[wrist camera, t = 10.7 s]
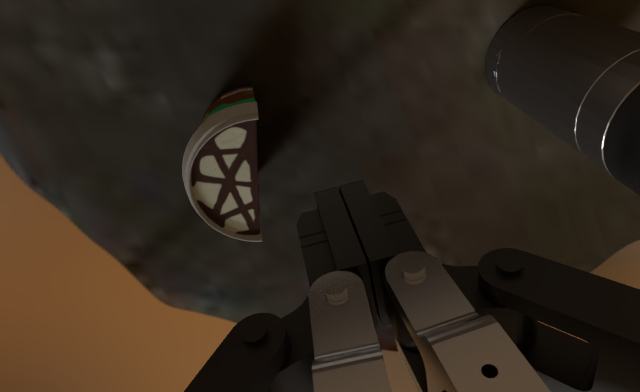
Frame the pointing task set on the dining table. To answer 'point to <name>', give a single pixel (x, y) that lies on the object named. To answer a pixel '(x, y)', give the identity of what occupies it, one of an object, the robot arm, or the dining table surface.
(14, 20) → the dining table surface
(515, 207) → the dining table surface
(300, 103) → the dining table surface
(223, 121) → the food container
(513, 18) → the robot arm
